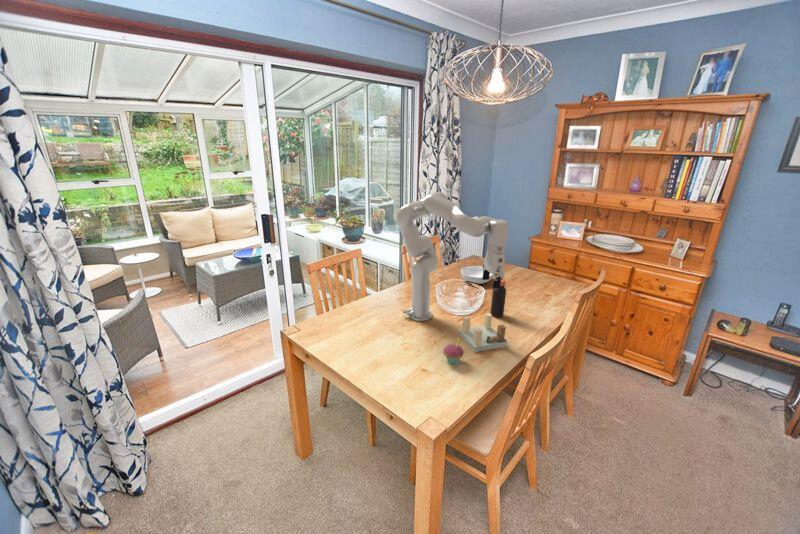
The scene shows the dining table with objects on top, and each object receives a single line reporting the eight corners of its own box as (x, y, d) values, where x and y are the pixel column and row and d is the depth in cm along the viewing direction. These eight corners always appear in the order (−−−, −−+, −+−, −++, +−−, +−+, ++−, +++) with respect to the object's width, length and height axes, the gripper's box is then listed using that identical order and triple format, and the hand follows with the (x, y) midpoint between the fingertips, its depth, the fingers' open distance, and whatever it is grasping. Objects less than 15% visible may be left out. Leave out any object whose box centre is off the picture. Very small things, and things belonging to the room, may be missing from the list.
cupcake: (460, 355, 153) (462, 331, 149) (464, 367, 145) (466, 342, 141) (441, 355, 152) (442, 331, 148) (444, 367, 144) (445, 342, 140)
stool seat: (474, 352, 155) (476, 333, 152) (458, 333, 169) (460, 316, 166) (506, 346, 159) (508, 327, 156) (488, 329, 174) (490, 311, 170)
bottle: (504, 313, 189) (508, 279, 182) (501, 318, 184) (505, 283, 177) (492, 310, 192) (496, 276, 185) (488, 315, 187) (492, 281, 180)
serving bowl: (455, 277, 239) (455, 267, 237) (482, 273, 245) (483, 264, 242) (469, 288, 220) (470, 278, 218) (498, 285, 226) (499, 275, 224)
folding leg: (488, 343, 157) (489, 329, 154) (485, 340, 159) (486, 326, 157) (504, 341, 159) (505, 327, 156) (501, 338, 161) (502, 324, 158)
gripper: (514, 254, 147) (508, 291, 153) (493, 241, 162) (488, 275, 168) (498, 255, 145) (492, 292, 151) (479, 242, 160) (474, 277, 166)
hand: (490, 283), depth 160 cm, fingers open, 9 cm apart
